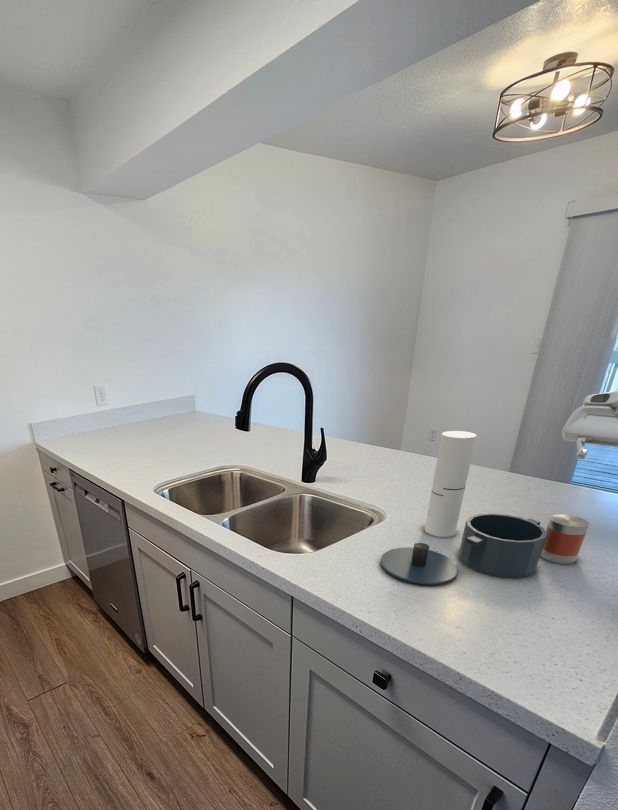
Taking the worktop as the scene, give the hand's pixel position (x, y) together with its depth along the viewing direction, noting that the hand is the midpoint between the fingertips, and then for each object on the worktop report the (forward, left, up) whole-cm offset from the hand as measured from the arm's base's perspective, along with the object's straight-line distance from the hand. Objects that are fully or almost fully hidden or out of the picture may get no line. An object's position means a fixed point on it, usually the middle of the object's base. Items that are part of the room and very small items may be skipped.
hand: (606, 461), depth 94 cm
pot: (+3, +23, -20) cm, 31 cm away
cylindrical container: (+20, +21, -20) cm, 36 cm away
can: (-2, +10, -20) cm, 23 cm away
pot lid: (+9, +40, -19) cm, 46 cm away
